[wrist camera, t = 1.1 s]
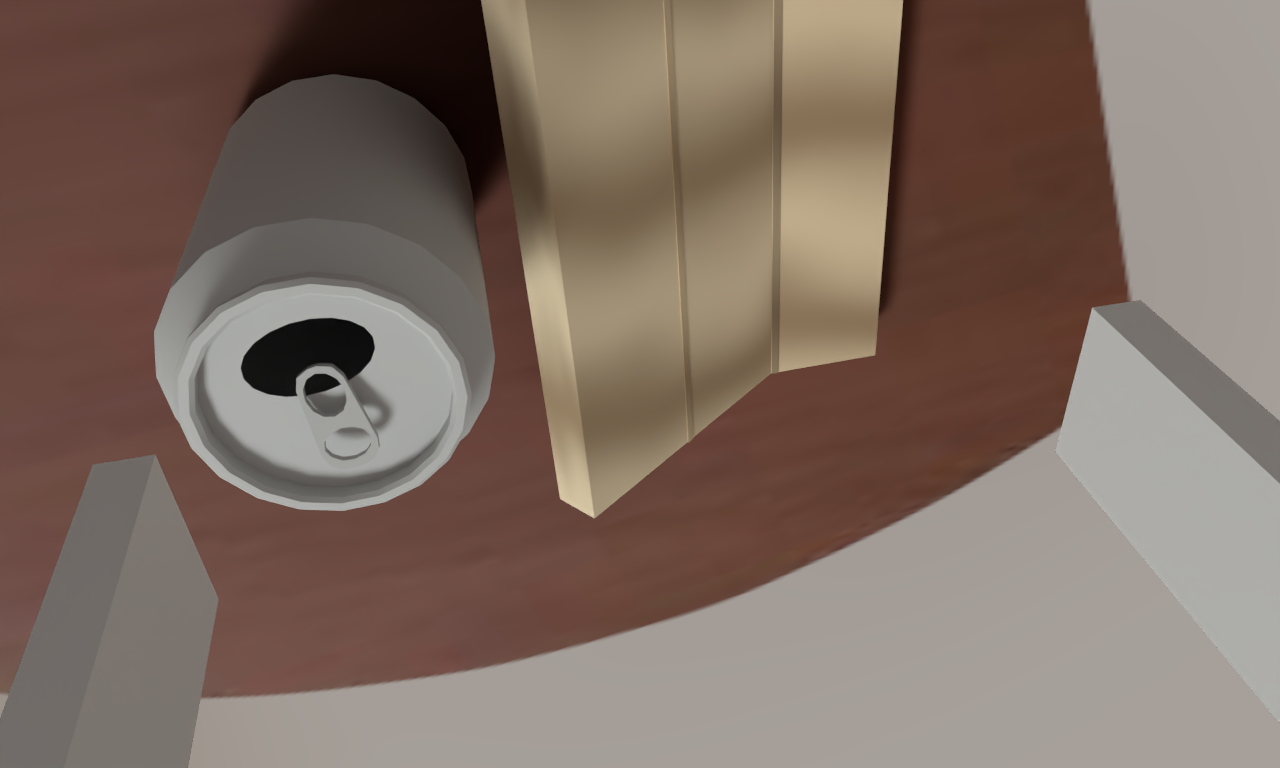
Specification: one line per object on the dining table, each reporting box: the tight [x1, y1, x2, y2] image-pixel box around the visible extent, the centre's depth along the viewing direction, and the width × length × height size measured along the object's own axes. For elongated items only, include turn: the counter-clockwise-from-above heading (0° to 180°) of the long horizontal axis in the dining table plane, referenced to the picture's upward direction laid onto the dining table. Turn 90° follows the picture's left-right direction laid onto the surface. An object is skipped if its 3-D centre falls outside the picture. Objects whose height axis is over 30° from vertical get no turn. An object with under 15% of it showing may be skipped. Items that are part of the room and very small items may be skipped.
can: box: [154, 74, 495, 511], centre depth 27 cm, size 8×8×12 cm
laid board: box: [771, 0, 903, 374], centre depth 32 cm, size 20×4×2 cm, turn 4°
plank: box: [481, 0, 773, 518], centre depth 29 cm, size 20×10×2 cm
